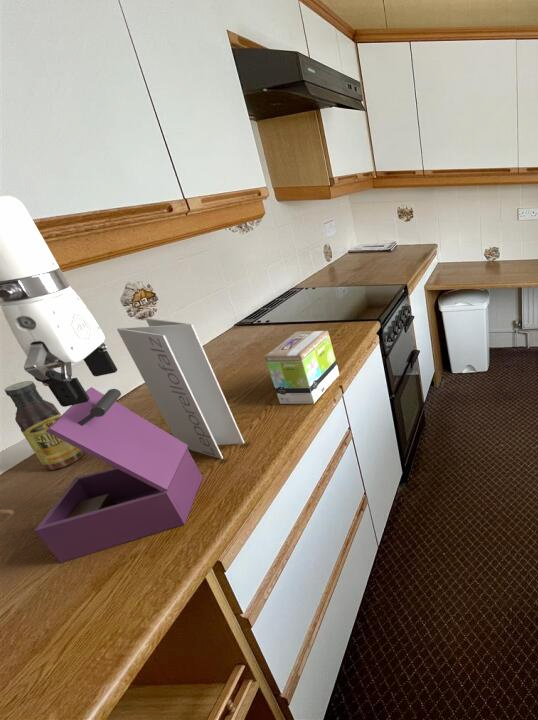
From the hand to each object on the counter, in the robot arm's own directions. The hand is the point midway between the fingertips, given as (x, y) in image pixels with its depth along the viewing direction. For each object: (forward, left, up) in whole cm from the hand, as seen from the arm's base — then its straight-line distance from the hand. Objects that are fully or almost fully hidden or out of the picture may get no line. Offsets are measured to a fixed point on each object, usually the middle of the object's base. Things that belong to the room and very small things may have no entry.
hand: (92, 387), depth 65 cm
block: (-10, 0, -26) cm, 28 cm away
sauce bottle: (-26, +27, -27) cm, 46 cm away
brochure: (+4, +18, -27) cm, 33 cm away
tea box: (+25, +33, -27) cm, 50 cm away
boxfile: (-4, 0, -27) cm, 27 cm away
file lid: (0, 0, -11) cm, 11 cm away
